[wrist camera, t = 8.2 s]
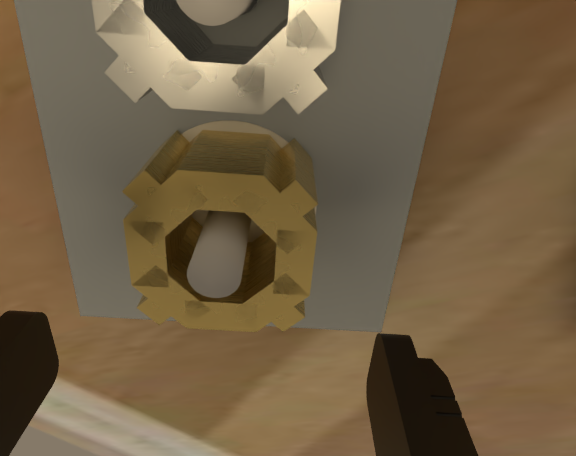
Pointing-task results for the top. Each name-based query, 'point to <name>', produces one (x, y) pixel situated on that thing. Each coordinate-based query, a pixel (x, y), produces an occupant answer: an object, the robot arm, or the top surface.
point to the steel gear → (216, 57)
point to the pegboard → (276, 122)
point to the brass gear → (231, 198)
